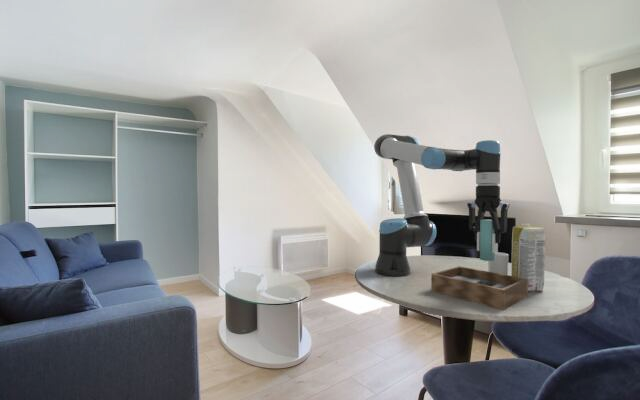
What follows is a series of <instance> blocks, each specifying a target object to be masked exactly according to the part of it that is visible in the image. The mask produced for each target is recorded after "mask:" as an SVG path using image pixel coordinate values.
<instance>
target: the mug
mask: <svg viewBox="0 0 640 400" xmlns="http://www.w3.org/2000/svg"><path fill="white" fill-rule="evenodd" d="M487 262H488V271H487V272H493V273H498V274H503V275H509V254H508V253H505V252H499V251H498V252H497V253H494V261H487Z"/></svg>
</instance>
